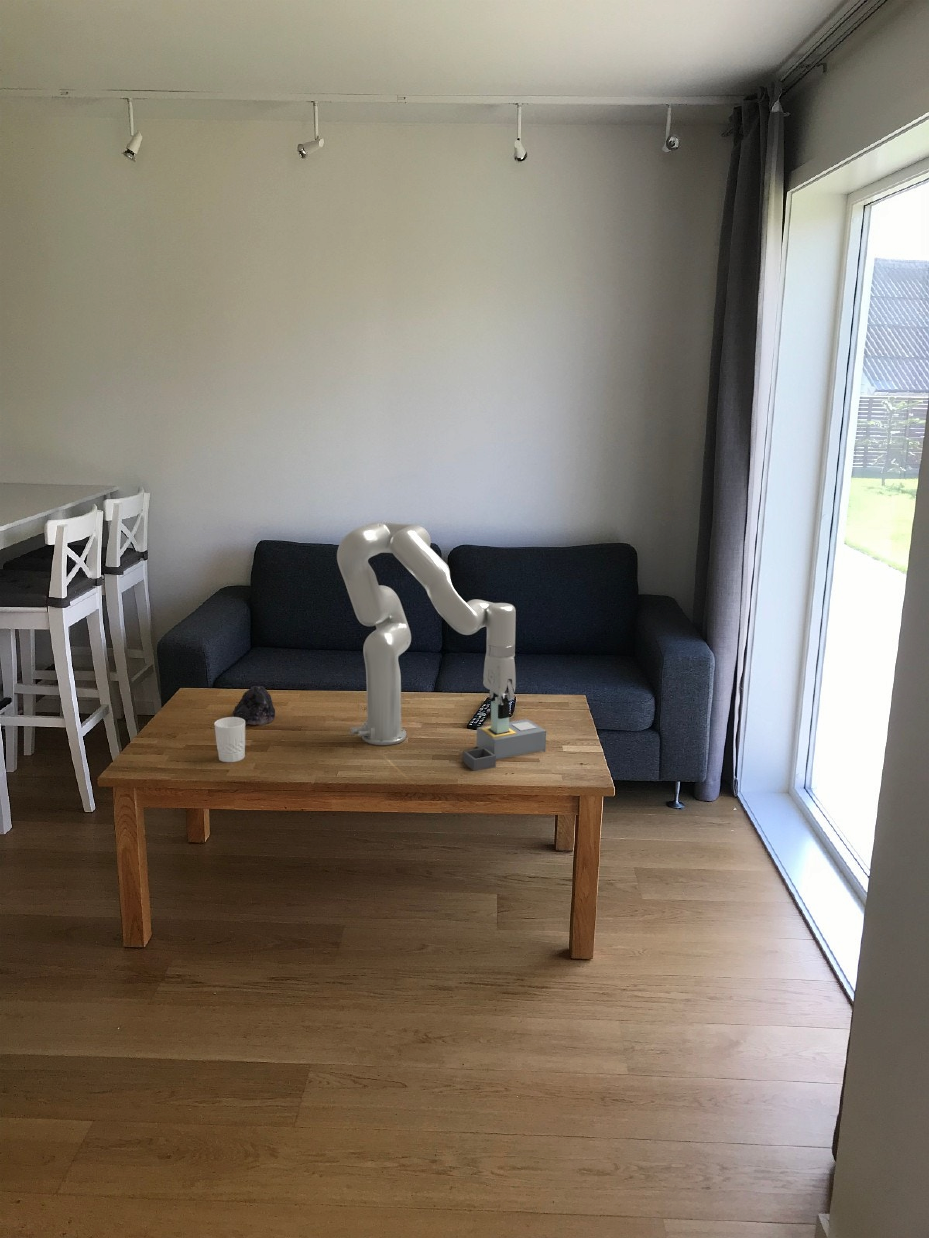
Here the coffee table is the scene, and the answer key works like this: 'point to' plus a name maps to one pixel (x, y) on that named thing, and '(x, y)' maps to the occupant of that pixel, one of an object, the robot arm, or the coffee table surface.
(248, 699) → the crystal cluster
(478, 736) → the port panel
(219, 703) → the coffee table surface
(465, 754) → the holster
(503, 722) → the plug
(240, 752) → the white cup
